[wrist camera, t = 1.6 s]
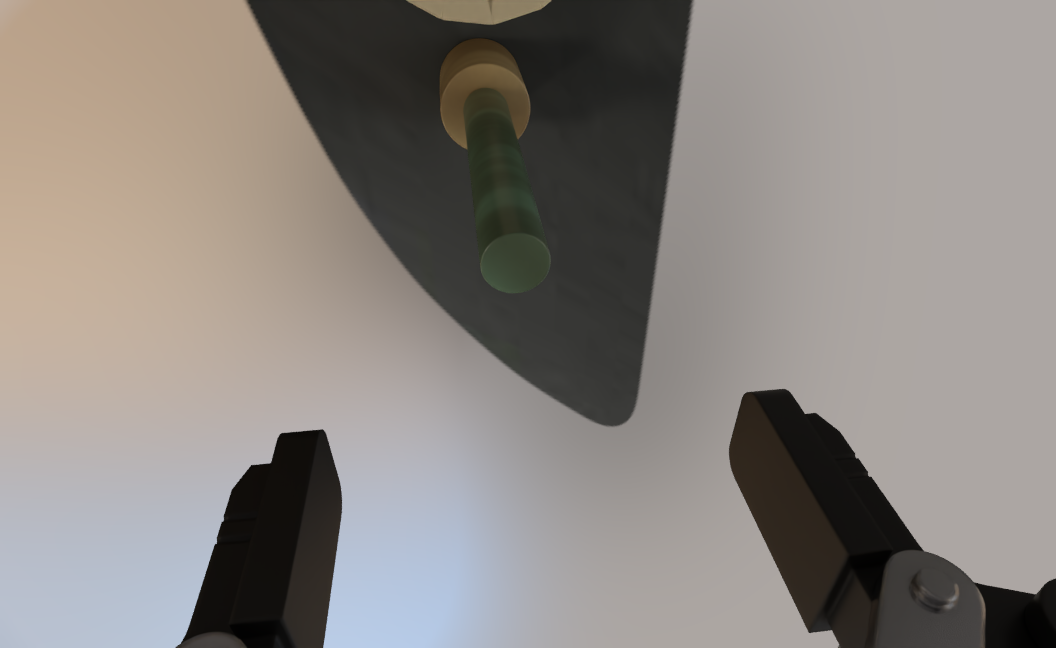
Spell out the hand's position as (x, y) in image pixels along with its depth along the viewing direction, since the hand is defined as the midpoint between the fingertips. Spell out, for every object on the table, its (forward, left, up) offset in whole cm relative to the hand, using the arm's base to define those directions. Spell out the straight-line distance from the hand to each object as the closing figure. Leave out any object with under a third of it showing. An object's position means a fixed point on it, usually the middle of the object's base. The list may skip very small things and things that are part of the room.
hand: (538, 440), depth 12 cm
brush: (0, 0, -24) cm, 24 cm away
